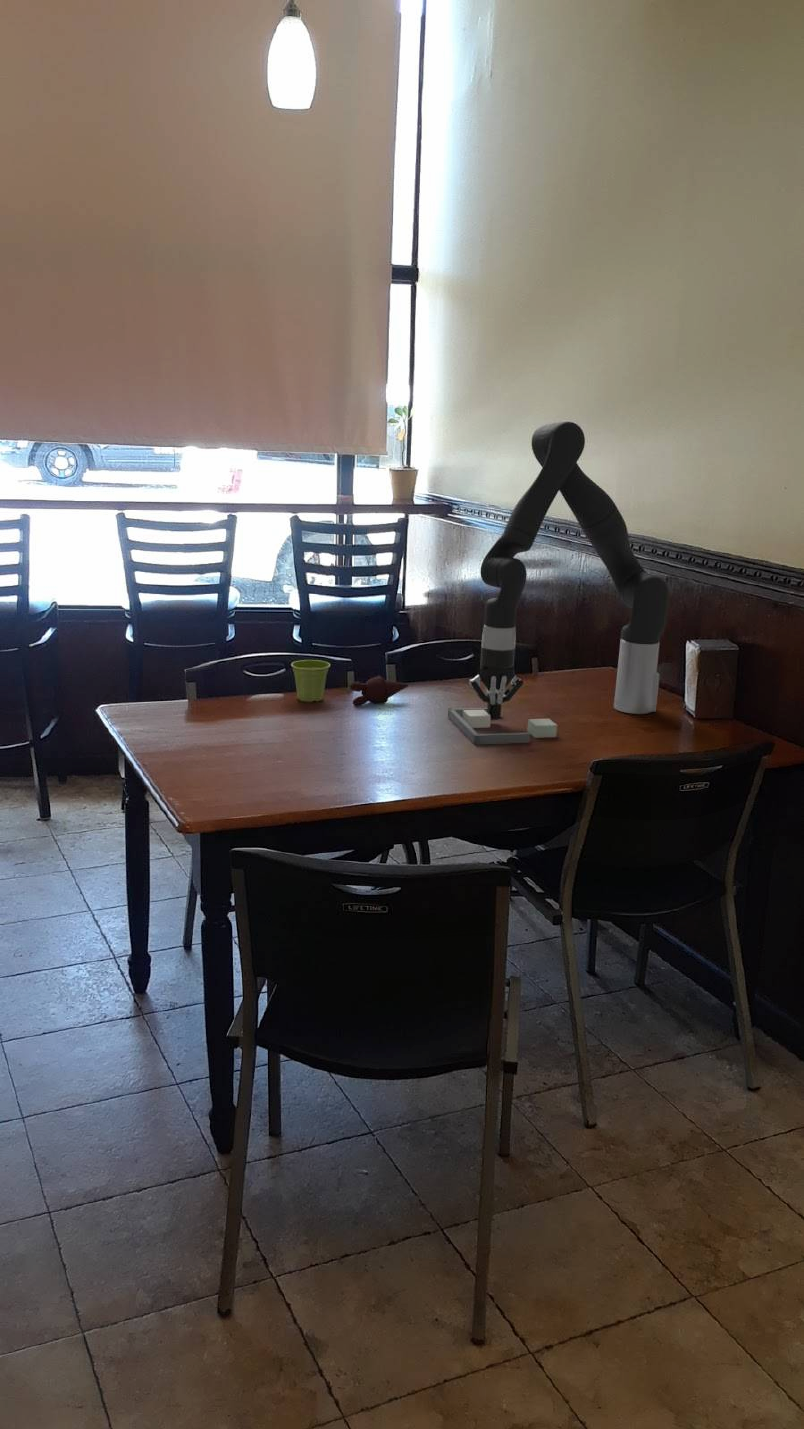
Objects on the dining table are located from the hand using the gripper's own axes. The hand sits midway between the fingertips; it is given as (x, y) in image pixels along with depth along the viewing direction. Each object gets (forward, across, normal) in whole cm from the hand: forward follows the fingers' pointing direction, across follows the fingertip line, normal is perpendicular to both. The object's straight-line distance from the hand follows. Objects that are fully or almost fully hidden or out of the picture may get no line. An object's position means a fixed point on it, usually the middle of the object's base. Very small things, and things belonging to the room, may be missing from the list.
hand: (493, 718), depth 256 cm
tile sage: (+1, -8, +9) cm, 12 cm away
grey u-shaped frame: (+1, +2, +4) cm, 5 cm away
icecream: (+1, +22, -19) cm, 30 cm away
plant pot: (+1, +38, -24) cm, 45 cm away
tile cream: (+1, +4, 0) cm, 4 cm away
